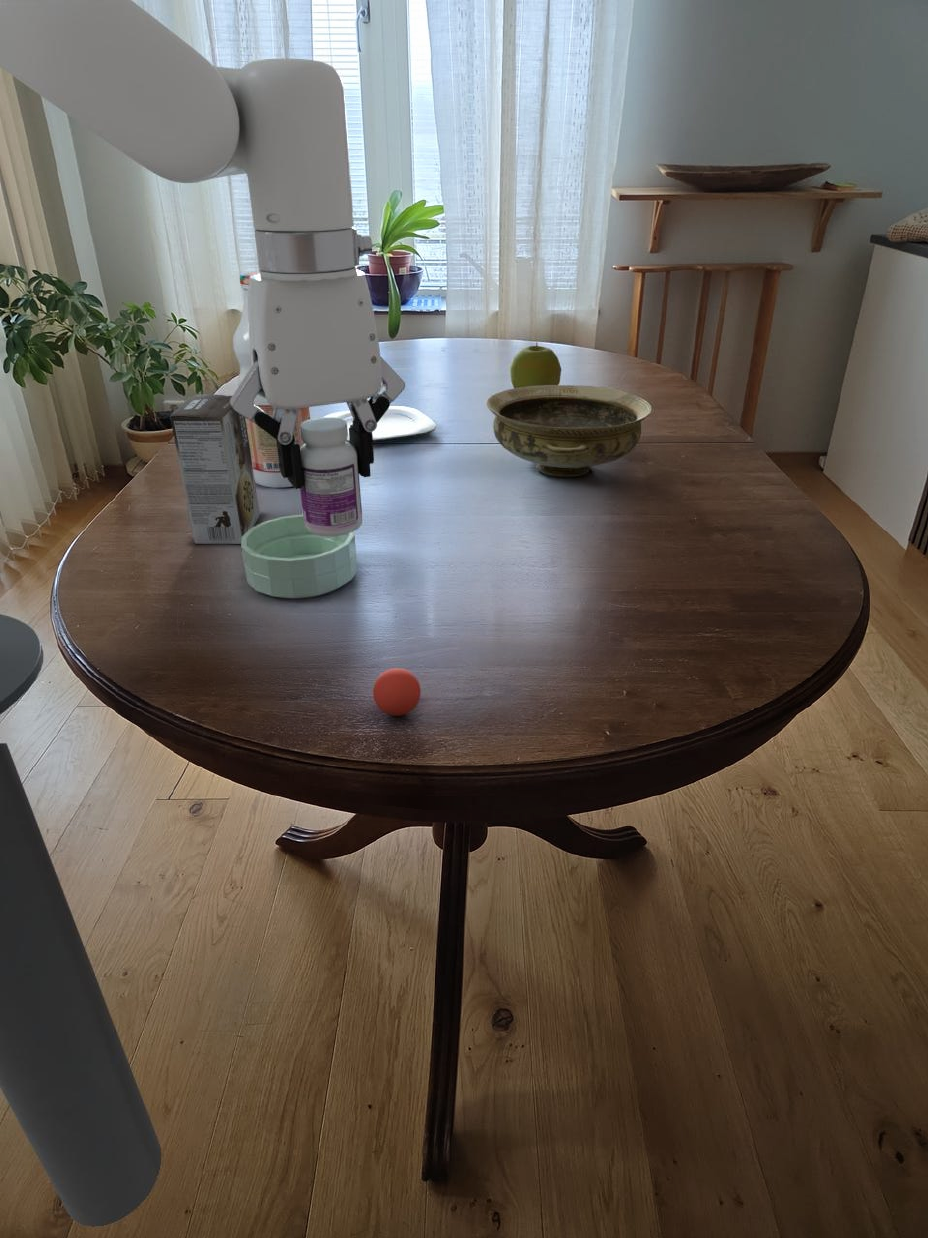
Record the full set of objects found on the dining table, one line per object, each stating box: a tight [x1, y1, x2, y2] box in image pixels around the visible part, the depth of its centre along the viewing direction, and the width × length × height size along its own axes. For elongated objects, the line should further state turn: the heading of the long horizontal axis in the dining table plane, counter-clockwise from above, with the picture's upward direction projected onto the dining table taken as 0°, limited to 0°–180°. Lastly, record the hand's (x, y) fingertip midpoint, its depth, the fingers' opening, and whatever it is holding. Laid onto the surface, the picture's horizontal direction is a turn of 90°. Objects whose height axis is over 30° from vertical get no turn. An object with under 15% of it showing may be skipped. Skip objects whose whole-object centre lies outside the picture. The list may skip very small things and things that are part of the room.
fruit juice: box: [232, 271, 311, 489], centre depth 110 cm, size 9×9×28 cm
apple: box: [509, 342, 562, 389], centre depth 151 cm, size 10×10×11 cm
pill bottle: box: [299, 416, 363, 536], centre depth 70 cm, size 5×5×10 cm
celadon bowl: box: [240, 514, 358, 599], centre depth 88 cm, size 12×12×5 cm
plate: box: [324, 405, 437, 444], centre depth 137 cm, size 18×18×2 cm
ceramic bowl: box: [486, 384, 653, 478], centre depth 117 cm, size 30×24×10 cm
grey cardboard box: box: [169, 394, 261, 545], centre depth 97 cm, size 9×6×16 cm
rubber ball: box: [372, 667, 421, 717], centre depth 66 cm, size 4×4×4 cm
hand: (328, 476), depth 70 cm, fingers closed on pill bottle, 5 cm apart
